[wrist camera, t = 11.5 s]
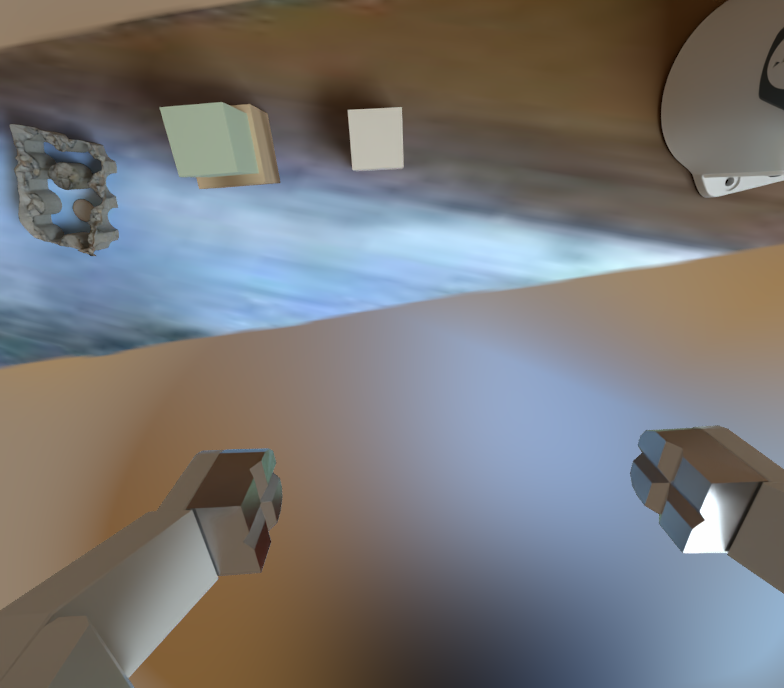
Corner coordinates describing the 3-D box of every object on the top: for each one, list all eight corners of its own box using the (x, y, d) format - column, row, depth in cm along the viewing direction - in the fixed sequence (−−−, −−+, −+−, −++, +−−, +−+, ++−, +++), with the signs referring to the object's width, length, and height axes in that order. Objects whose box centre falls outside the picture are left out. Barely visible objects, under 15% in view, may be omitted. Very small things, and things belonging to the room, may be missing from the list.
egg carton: (122, 254, 40) (95, 262, 36) (47, 232, 39) (12, 238, 35) (124, 150, 36) (94, 147, 32) (41, 122, 35) (-1, 115, 31)
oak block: (267, 114, 34) (249, 103, 30) (280, 182, 37) (265, 183, 32) (205, 119, 35) (177, 110, 30) (222, 187, 37) (199, 188, 33)
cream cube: (399, 116, 35) (401, 107, 30) (401, 168, 37) (403, 167, 32) (352, 118, 35) (347, 109, 30) (356, 171, 37) (352, 170, 32)
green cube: (246, 113, 30) (221, 101, 26) (259, 173, 32) (237, 172, 28) (193, 118, 30) (159, 107, 26) (208, 177, 32) (179, 176, 28)
